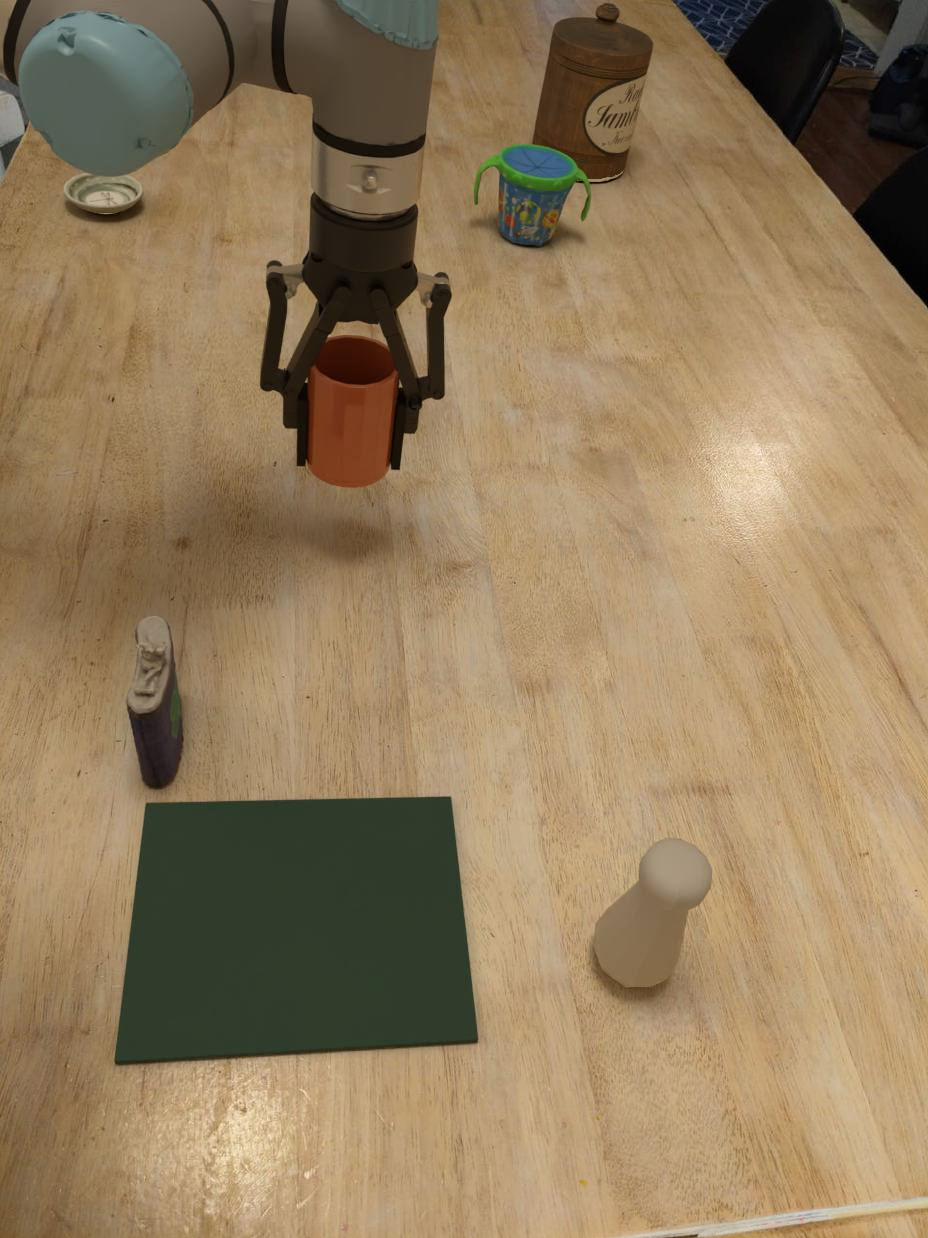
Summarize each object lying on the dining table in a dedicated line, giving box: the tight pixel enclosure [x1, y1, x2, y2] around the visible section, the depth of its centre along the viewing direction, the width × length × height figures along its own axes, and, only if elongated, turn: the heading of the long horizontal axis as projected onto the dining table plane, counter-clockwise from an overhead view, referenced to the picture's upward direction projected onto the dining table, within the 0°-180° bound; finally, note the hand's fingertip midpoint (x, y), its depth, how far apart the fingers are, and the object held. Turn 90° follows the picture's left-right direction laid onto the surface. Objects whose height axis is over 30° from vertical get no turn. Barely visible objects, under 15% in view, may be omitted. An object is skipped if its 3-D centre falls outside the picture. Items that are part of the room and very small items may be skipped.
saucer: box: [62, 172, 144, 214], centre depth 130 cm, size 10×10×2 cm
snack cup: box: [473, 143, 592, 247], centre depth 136 cm, size 16×10×10 cm
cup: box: [306, 334, 400, 489], centre depth 84 cm, size 7×7×10 cm
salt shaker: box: [592, 837, 713, 989], centre depth 65 cm, size 6×6×13 cm
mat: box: [113, 795, 479, 1065], centre depth 69 cm, size 22×18×1 cm
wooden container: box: [531, 2, 654, 179], centre depth 151 cm, size 15×15×22 cm
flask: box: [125, 615, 184, 790], centre depth 73 cm, size 9×3×11 cm, turn 7°
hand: (348, 457), depth 87 cm, fingers closed on cup, 7 cm apart
